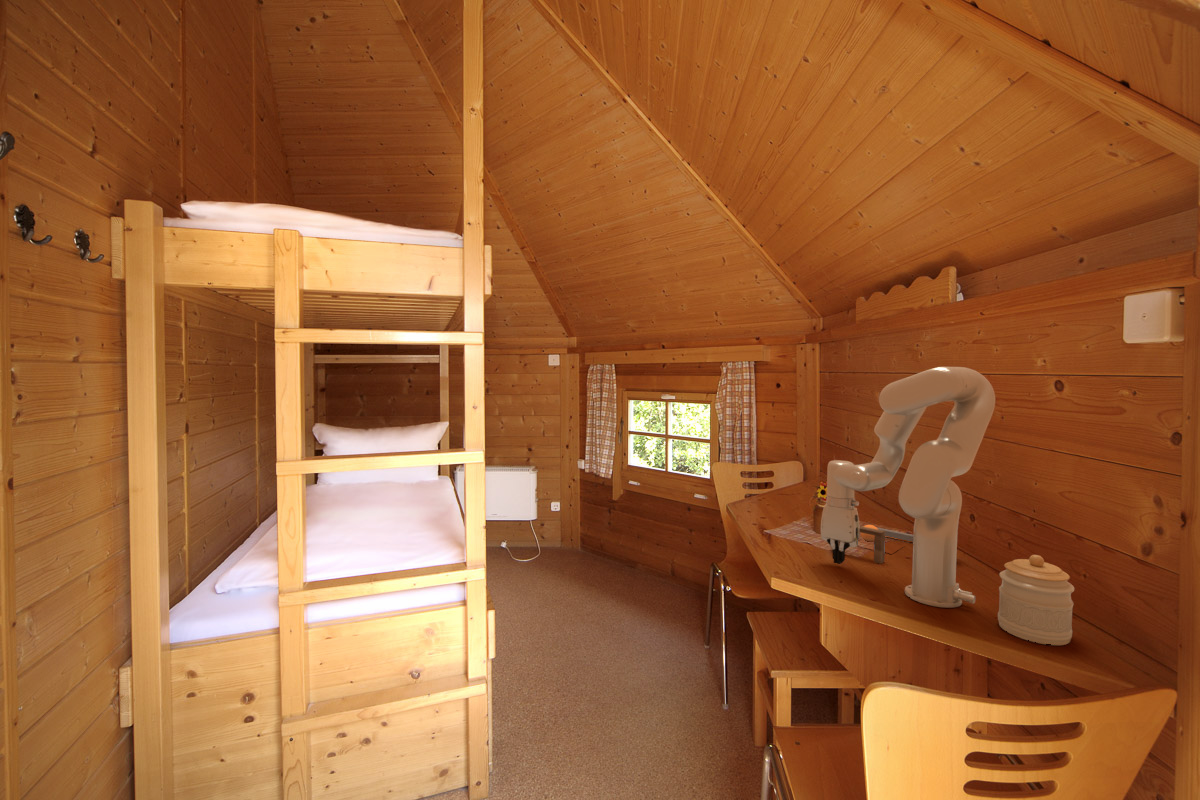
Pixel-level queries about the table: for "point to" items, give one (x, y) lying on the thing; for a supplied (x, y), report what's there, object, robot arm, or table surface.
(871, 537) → the ball
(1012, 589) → the jar
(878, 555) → the bridge
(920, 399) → the robot arm
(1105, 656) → the table surface
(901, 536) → the grey long bar
